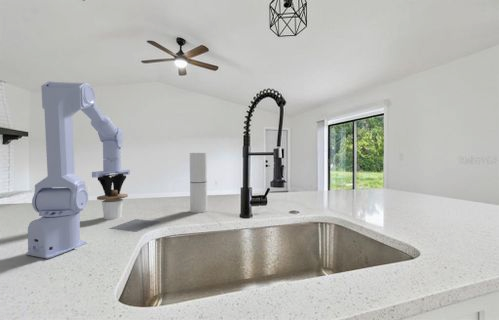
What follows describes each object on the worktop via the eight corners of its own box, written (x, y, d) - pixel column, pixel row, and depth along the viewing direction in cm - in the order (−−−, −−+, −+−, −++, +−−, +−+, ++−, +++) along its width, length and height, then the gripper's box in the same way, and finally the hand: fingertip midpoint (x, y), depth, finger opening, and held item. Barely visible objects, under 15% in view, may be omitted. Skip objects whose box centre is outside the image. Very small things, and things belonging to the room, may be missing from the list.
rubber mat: (136, 232, 67) (136, 231, 67) (109, 229, 71) (109, 228, 71) (160, 222, 78) (160, 221, 78) (136, 220, 81) (136, 219, 81)
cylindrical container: (186, 212, 92) (186, 152, 92) (195, 208, 99) (195, 153, 98) (202, 213, 90) (201, 152, 90) (210, 209, 97) (209, 153, 96)
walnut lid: (111, 200, 77) (111, 192, 77) (90, 199, 80) (90, 191, 80) (133, 195, 87) (133, 188, 87) (114, 194, 90) (114, 188, 90)
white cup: (98, 219, 82) (98, 200, 82) (116, 215, 88) (116, 197, 88) (108, 221, 79) (108, 202, 79) (127, 217, 85) (126, 199, 85)
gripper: (102, 159, 75) (102, 198, 76) (135, 159, 89) (136, 192, 89) (87, 159, 77) (87, 197, 78) (122, 159, 91) (122, 191, 92)
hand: (112, 194), depth 84 cm, fingers closed on walnut lid, 3 cm apart
